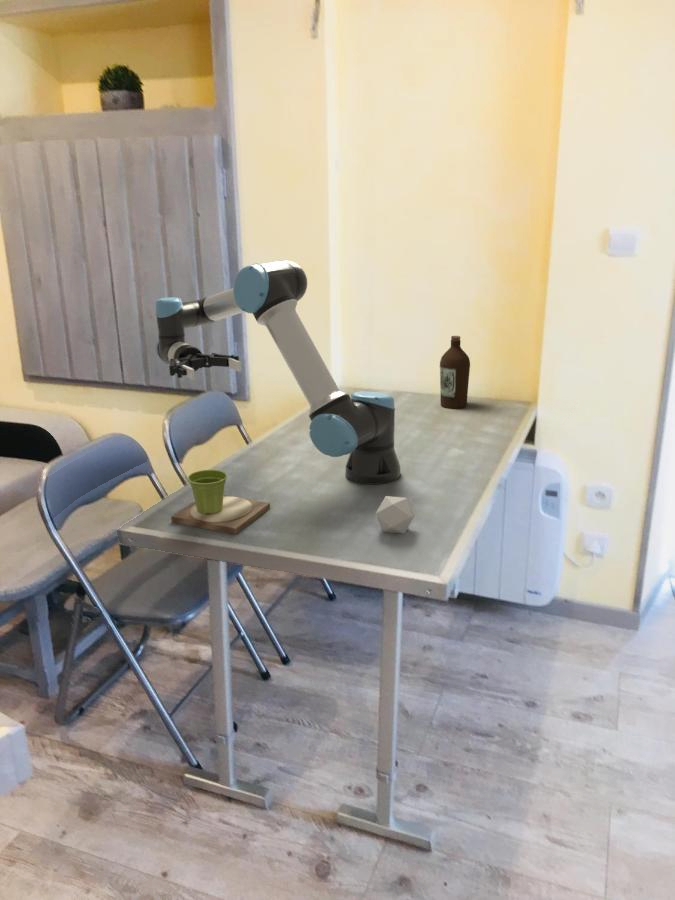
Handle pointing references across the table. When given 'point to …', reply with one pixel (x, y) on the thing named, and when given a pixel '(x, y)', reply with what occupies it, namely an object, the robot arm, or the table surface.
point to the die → (395, 514)
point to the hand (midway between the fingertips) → (217, 370)
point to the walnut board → (223, 515)
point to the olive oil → (454, 376)
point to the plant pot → (208, 490)
